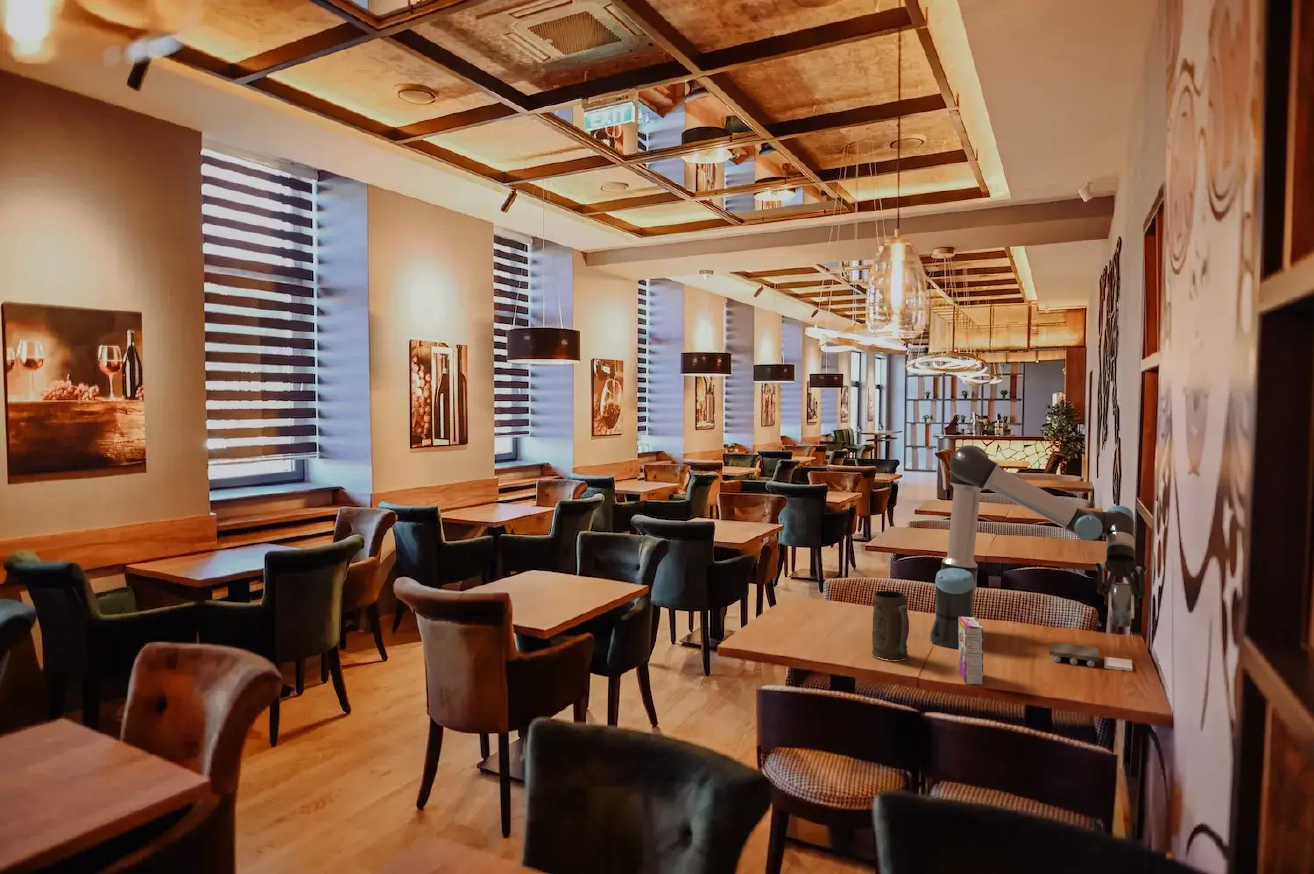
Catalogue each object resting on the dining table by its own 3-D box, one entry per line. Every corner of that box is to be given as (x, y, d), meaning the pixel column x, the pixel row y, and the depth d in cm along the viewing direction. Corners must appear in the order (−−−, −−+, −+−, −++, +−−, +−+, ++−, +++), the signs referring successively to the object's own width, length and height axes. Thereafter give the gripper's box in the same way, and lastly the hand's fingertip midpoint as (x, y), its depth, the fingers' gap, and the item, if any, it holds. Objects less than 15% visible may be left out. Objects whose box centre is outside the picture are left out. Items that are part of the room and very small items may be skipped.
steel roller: (1111, 625, 229) (1111, 585, 228) (1111, 621, 233) (1111, 581, 233) (1131, 627, 226) (1131, 586, 226) (1130, 623, 230) (1130, 583, 230)
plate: (1104, 668, 228) (1104, 664, 228) (1104, 659, 236) (1104, 656, 236) (1132, 671, 224) (1132, 668, 224) (1131, 663, 232) (1131, 659, 232)
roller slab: (1049, 661, 234) (1049, 651, 234) (1051, 651, 244) (1051, 641, 244) (1098, 668, 228) (1098, 657, 228) (1099, 658, 237) (1099, 647, 237)
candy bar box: (957, 671, 226) (957, 616, 226) (975, 672, 225) (975, 616, 225) (964, 684, 215) (964, 626, 215) (983, 685, 214) (984, 627, 214)
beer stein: (863, 652, 244) (865, 591, 242) (890, 648, 248) (893, 587, 247) (896, 670, 230) (899, 605, 228) (924, 665, 234) (927, 601, 233)
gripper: (1154, 559, 238) (1157, 625, 224) (1087, 555, 247) (1086, 618, 233) (1155, 545, 233) (1158, 611, 219) (1087, 541, 242) (1085, 604, 228)
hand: (1121, 614), depth 226 cm, fingers closed on steel roller, 5 cm apart
